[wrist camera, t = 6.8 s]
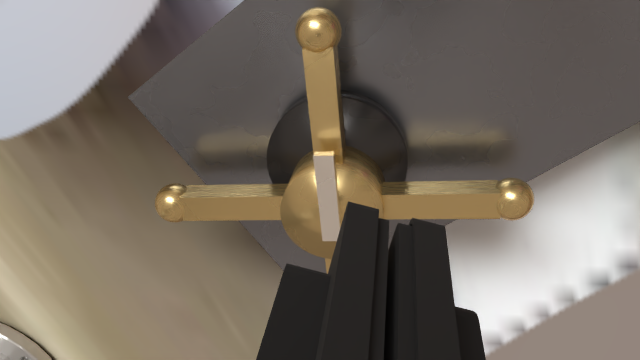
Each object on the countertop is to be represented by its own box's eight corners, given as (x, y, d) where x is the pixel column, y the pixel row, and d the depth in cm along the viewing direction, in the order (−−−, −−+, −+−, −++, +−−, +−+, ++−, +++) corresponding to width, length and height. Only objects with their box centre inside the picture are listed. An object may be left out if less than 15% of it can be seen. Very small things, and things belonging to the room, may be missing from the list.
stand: (316, 266, 35) (255, 506, 22) (152, 77, 31) (-47, 232, 18) (703, 50, 26) (989, 231, 13) (545, -249, 22) (730, -425, 9)
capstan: (515, 320, 30) (527, 377, 27) (204, 313, 33) (180, 364, 30) (538, -20, 23) (559, 0, 19) (134, 10, 26) (91, 31, 22)
